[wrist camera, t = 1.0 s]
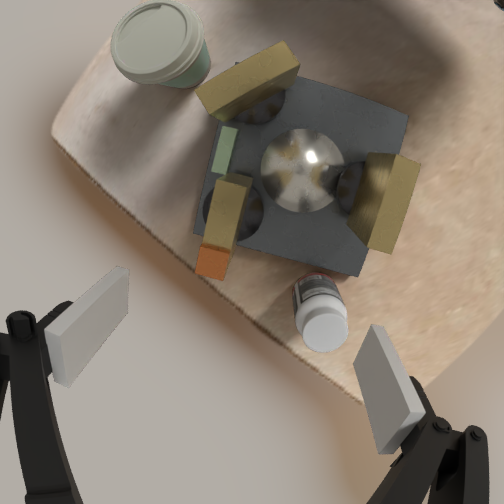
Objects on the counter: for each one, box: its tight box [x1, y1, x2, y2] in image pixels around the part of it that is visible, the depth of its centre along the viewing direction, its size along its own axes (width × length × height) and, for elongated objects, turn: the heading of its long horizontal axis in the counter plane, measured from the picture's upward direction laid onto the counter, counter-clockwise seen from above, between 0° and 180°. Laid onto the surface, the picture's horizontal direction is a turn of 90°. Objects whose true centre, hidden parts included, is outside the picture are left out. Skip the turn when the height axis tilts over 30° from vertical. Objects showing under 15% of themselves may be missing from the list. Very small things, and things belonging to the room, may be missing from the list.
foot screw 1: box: [194, 40, 300, 125], centre depth 26 cm, size 8×6×10 cm
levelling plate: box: [193, 62, 409, 277], centre depth 33 cm, size 20×20×3 cm
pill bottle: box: [292, 272, 348, 352], centre depth 35 cm, size 6×6×10 cm
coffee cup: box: [111, 0, 211, 89], centre depth 26 cm, size 9×8×12 cm
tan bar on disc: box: [195, 172, 264, 281], centre depth 30 cm, size 8×6×11 cm
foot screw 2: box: [336, 152, 421, 254], centre depth 28 cm, size 8×6×10 cm
